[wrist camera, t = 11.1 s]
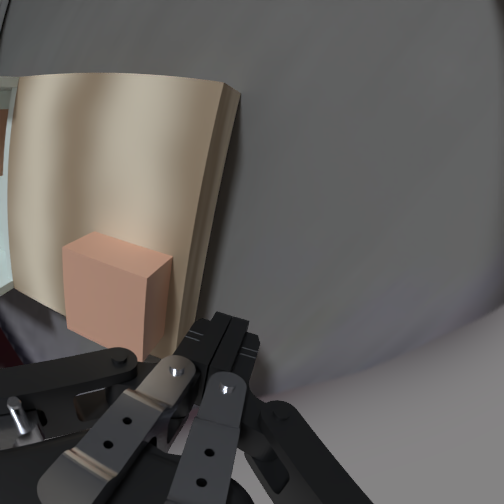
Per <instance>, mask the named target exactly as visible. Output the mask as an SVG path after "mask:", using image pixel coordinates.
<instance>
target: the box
mask: <svg viewBox="0 0 504 504" xmlns="http://www.w3.org/2000/svg"><path fill="white" fill-rule="evenodd" d="M18 81H19V77H8V76H0V109H9V110H8V118H7V126H6V135H5V146H4V161H3V175H2V176H0V296H1V295H3V294H5V293H6V292H8V291H10V290H11V289H13V288H14V285H13V278H12V269H11V260H10V249H9V235H8V211H7V183H8V159H9V145H10V135H11V126H12V118H13V110H14V104H15V98H16V92H17V86H18Z"/></svg>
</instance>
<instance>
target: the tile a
mask: <svg viewBox="0 0 504 504" xmlns="http://www.w3.org/2000/svg"><path fill="white" fill-rule="evenodd" d="M8 110H9V109H0V176H2V175H3V161H4V146H5V135H6V126H7V118H8Z"/></svg>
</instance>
